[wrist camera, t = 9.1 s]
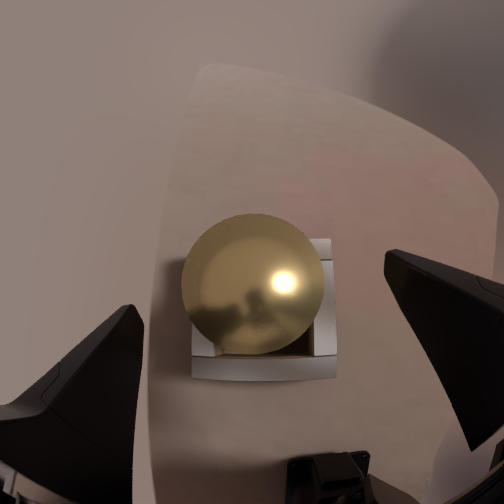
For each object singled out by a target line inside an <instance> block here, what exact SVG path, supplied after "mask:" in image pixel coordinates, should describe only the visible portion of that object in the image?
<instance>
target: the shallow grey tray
mask: <svg viewBox="0 0 504 504" xmlns="http://www.w3.org/2000/svg"><path fill="white" fill-rule="evenodd" d="M309 241H310V242H311V243H312V244H313V246H314V248H315V249H316V251H317V253H318V255H319V258H320V260H321V264H322V267H323V272H324V294H323V299H322V303H321V306H320V309H319V311H318V313H317V315H316V317H315V319H314V320H313V322H312V324H311V325H310V326H309V327H308V329H307V353H291V354H253V355H250V354H223V348H221V347H219V346H217V345H215V344H213V343H212V342H211V341H209V340H208V339H206V338H205V337H204V336H203V335H202V334H201V333H200V332H199V331H198V330H197V328H196V327H195V326H194V325H193V323H192V378H196V379H209V380H228V381H295V380H314V379H327V378H336V372H337V356H336V354H337V348H336V310H335V290H334V275H333V262H332V250H331V239H309Z"/></svg>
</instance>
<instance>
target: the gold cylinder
mask: <svg viewBox="0 0 504 504" xmlns="http://www.w3.org/2000/svg"><path fill="white" fill-rule="evenodd" d="M181 292H182V299H183V303H184V306H185V309H186V311H187V314H188V316H189V318H190V320H191V321H192V323H193V325H194V326H195V327H196V328H197V330H198V331H199V332H200V333H201V334H202V335H203V336H204V337H205V338H206V339H208V340H209V341H211V342H212V343H213V344H215V345H217V346H219V347H221V348H223V349H225V350H228V351H231V352H235V353H240V354H250V355H253V354H264V353H269V352H273V351H275V350H278V349H281V348H283V347H285V346H287V345H289V344H290V343H292V342H293V341H295V340H296V339H298V338H299V337H300V336H301V335H302V334H303V333H304V332H305V331H306V330H307V329H308V327H309V326H310V325H311V324H312V322H313V320H314V319H315V317H316V315H317V313H318V311H319V309H320V306H321V303H322V299H323V294H324V272H323V267H322V264H321V260H320V258H319V255H318V253H317V251H316V249H315V248H314V246H313V244H312V243H311V242H310V241H309V239H308V238H307V237H306V236H305V235H304V234H303V233H302V232H301V231H300V230H299V229H297V228H296V227H295V226H293V225H292V224H290V223H288V222H286V221H284V220H282V219H279V218H277V217H273V216H270V215H263V214H244V215H238V216H234V217H231V218H228V219H225V220H223V221H221V222H219V223H217V224H216V225H214V226H213V227H211V228H210V229H209V230H207V231H206V232H205V233H204V234H203V235H202V236H201V237H200V238H199V239H198V240H197V241H196V243H195V244H194V246H193V247H192V249H191V250H190V252H189V254H188V256H187V259H186V261H185V264H184V268H183V272H182V279H181Z"/></svg>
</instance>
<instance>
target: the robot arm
mask: <svg viewBox="0 0 504 504" xmlns="http://www.w3.org/2000/svg"><path fill="white" fill-rule="evenodd" d="M384 276H385V279H386V281H387V283H388V285H389V287H390V289H391V291H392V293H393V295H394V297H395V299H396V301H397V303H398V305H399V307H400V309H401V311H402V312H403V314H404V316H405V318H406V319H407V321H408V323H409V324H410V326H411V328H412V329H413V331H414V333H415V334H416V336H417V338H418V340H419V341H420V343H421V345H422V347H423V349H424V350H425V352H426V354H427V356H428V358H429V360H430V362H431V363H432V365H433V367H434V369H435V371H436V373H437V375H438V377H439V379H440V381H441V383H442V385H443V387H444V389H445V391H446V393H447V396H448V398H449V400H450V402H451V403H452V407H453V409H454V411H455V413H456V416H457V418H458V420H459V423H460V425H461V428H462V430H463V432H464V435H465V438H466V440H467V443H468V445H469V448H470V450H471V452H472V451H474V450H475V449H477V448H478V447H479V446H481V445H482V444H483V443H485V442H486V441H487V440H488V439H490V438H491V437H492V436H493V435H494V434H496V433H497V432H498V431H499V430H501V429H502V428H503V427H504V284H501V283H497V282H494V281H492V280H489V279H486V278H483V277H480V276H477V275H476V276H475V275H474V274H471V273H469V272H466V271H463V270H460V269H457V268H454V267H451V266H448V265H445V264H442V263H439V262H436V261H433V260H430V259H427V258H424V257H420V256H417V255H414V254H411V253H408V252H404V251H401V250H398V249H394V250H390V251H387V252H386V254H385V262H384ZM143 339H144V323H143V321H142V319H141V317H140V315H139V313H138V311H137V309H136V307H135V306H134V305H132V304H129V305H124V306H122V307H120V308H119V309H118V310H117V311H116V312H115V313H114V314H112V315H111V316H110V317H109V318H108V319H107V320H105V321H104V322H103V323H102V324H101V325H100V326H98V327H97V328H96V329H95V330H94V331H93V332H91V333H90V334H89V335H88V336H87V337H86V338H85V339H84V340H82V341H81V342H80V343H79V344H78V345H77V346H76V347H75V348H74V349H72V350H71V351H70V352H69V353H68V354H67V355H66V356H65V357H63V359H61V361H60V362H58V363H57V364H56V365H55V366H54V367H53V368H51V369H50V370H49V371H48V372H47V373H46V374H45V375H44V376H43V377H41V378H40V379H39V380H38V381H37V382H36V383H34V384H33V385H32V386H31V387H30V388H28V389H27V390H26V391H25V392H24V393H22V394H21V395H20V396H19V397H18V398H17V399H15V400H14V401H12V402H11V403H9V404H6V405H0V504H132V473H133V470H132V468H133V445H134V432H135V419H136V409H137V400H138V391H139V384H140V376H141V369H142V359H143ZM363 455H366V456H365V457H364V458H361V457H362V456H363ZM369 460H370V454H369V453H368V452H367V451H359V452H353V453H348V452H342V453H335V454H327V455H317V456H315V457H313V458H300V459H291V460H289V462H288V463H287V480H286V497H285V504H420V503H419V502H418V501H417V500H415V499H414V498H413V497H412V496H411V495H409V494H407V493H405V492H403V491H401V490H399V489H397V488H395V487H393V486H391V485H389V484H387V483H385V482H384V481H382V480H380V479H378V478H376V477H374V476H373V475H371V474H368V475H367V473H368V467H369ZM294 463H295V464H297V465H296V466H291V465H292V464H294ZM444 504H504V439H502V440H501V441H500V442H499V443H498V444H497V445H496V449H495V453H494V456H493V460H492V463H491V467H490V470H489V472H488V473H487V474H486V475H485V476H483V477H482V478H480V479H479V480H478V481H476V482H475V483H474V484H472V485H471V486H470V487H468V488H467V489H465V490H464V491H462V492H461V493H459V494H458V495H457V496H455V497H453V498H452V499H450V500H449V501H447V502H445V503H444Z"/></svg>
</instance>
